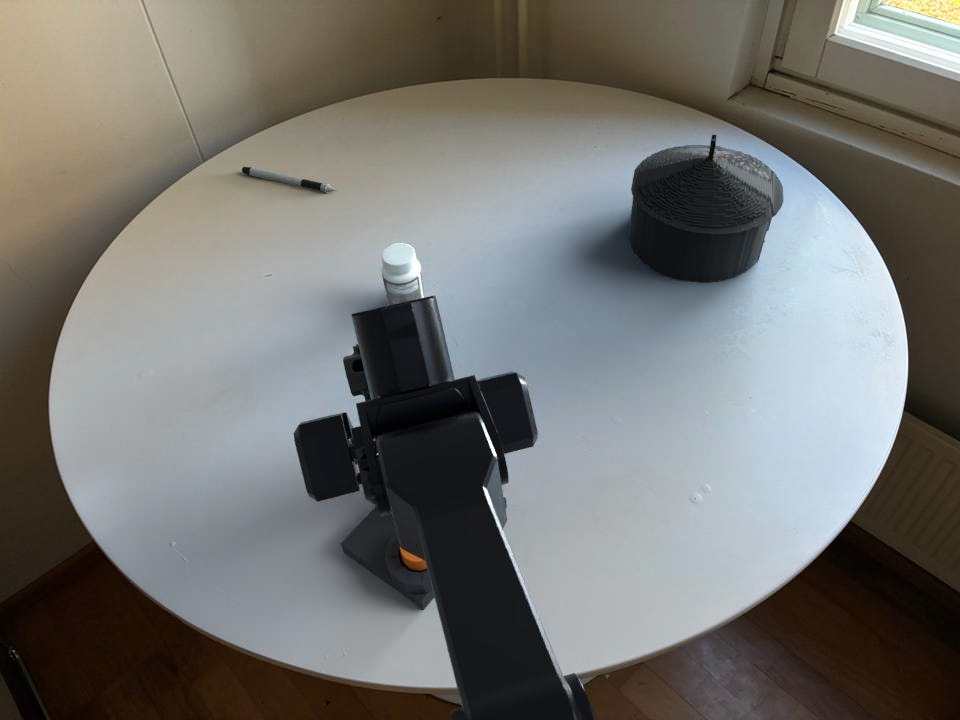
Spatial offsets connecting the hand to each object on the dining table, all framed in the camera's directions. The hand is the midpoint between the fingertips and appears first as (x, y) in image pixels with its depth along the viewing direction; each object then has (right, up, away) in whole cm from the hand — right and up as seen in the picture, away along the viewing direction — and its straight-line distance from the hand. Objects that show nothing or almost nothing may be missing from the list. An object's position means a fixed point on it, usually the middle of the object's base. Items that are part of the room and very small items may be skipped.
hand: (411, 423), depth 69 cm
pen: (-22, +32, +45) cm, 60 cm away
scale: (+1, -11, +5) cm, 12 cm away
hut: (+35, +22, +32) cm, 52 cm away
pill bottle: (-3, +13, +26) cm, 29 cm away
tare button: (+1, -12, 0) cm, 12 cm away
